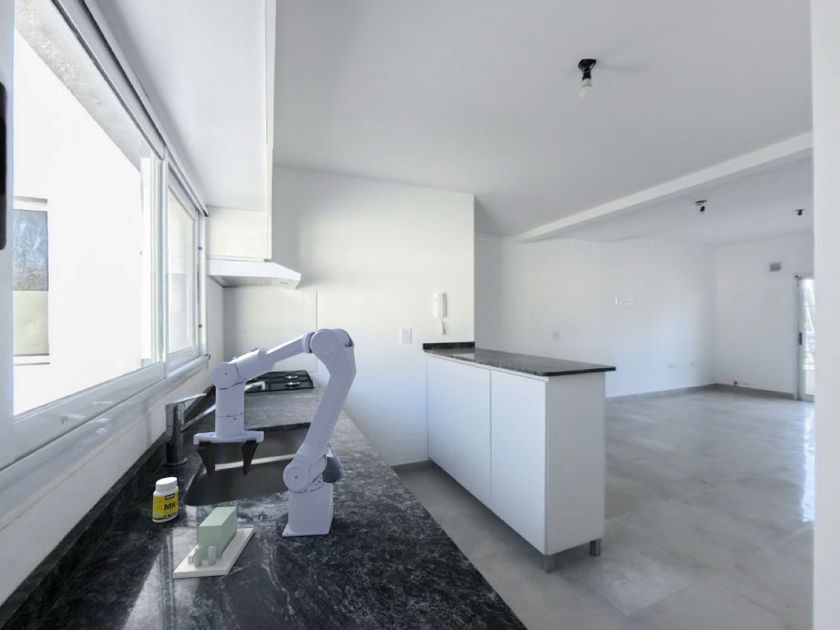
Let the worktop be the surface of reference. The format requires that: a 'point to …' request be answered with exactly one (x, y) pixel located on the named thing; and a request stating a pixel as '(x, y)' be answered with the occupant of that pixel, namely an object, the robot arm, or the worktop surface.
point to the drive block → (217, 530)
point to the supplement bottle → (165, 500)
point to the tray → (214, 557)
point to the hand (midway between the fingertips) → (228, 474)
